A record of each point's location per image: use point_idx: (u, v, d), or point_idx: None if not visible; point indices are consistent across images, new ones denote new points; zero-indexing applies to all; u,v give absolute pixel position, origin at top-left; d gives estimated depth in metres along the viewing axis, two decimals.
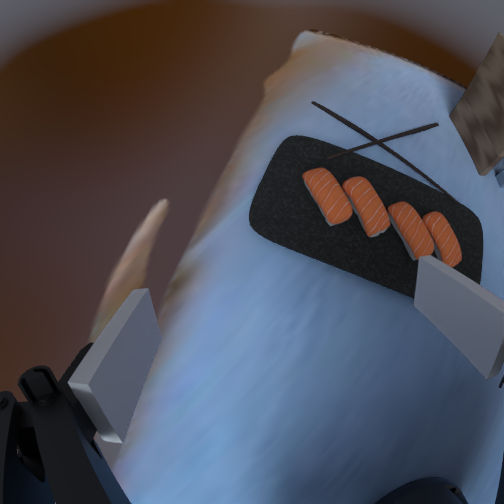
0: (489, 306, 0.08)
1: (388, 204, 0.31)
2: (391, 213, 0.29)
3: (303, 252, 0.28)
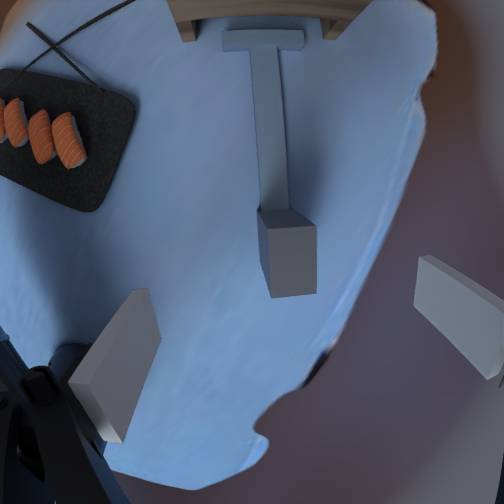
0: (489, 306, 0.08)
1: (40, 111, 0.26)
2: None
3: None
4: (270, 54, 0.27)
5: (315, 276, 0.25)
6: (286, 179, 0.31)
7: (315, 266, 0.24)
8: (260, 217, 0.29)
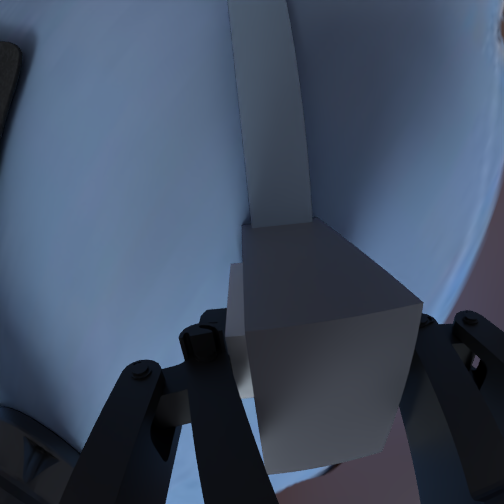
0: None
1: None
2: None
3: None
4: None
5: (389, 426, 0.07)
6: (305, 154, 0.13)
7: (395, 408, 0.07)
8: (242, 249, 0.11)
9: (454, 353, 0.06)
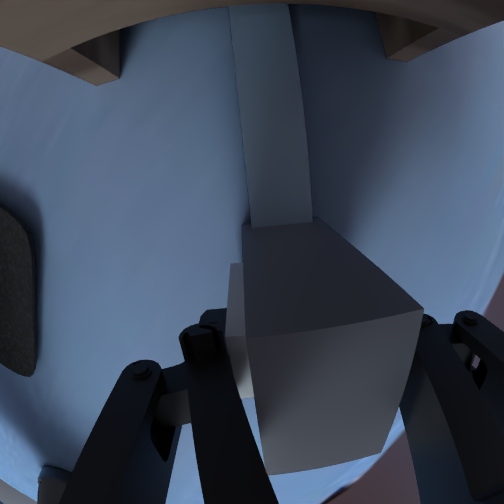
0: None
1: None
2: None
3: None
4: None
5: (388, 428, 0.07)
6: (305, 153, 0.13)
7: (394, 411, 0.07)
8: (242, 250, 0.11)
9: (454, 353, 0.06)
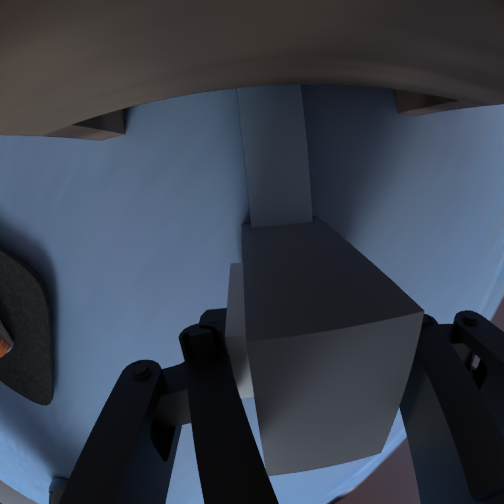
0: None
1: None
2: None
3: None
4: None
5: (388, 429, 0.07)
6: (305, 153, 0.13)
7: (394, 412, 0.07)
8: (242, 251, 0.11)
9: (454, 353, 0.06)
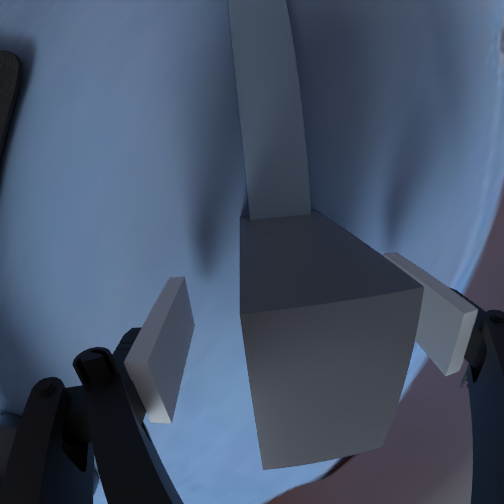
0: (445, 302, 0.09)
1: None
2: None
3: None
4: None
5: (389, 419, 0.07)
6: (303, 146, 0.13)
7: (396, 400, 0.07)
8: (240, 239, 0.11)
9: None
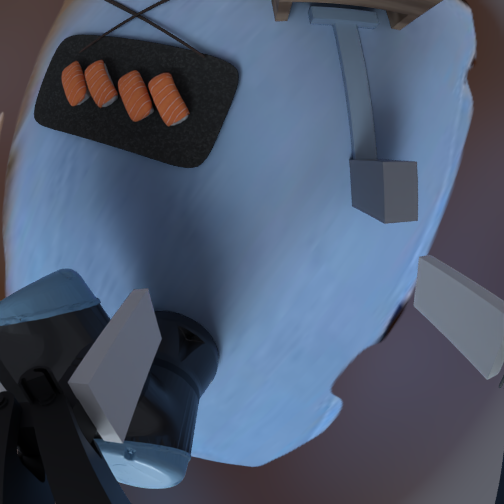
0: (489, 306, 0.08)
1: (128, 73, 0.30)
2: (118, 85, 0.29)
3: (59, 130, 0.31)
4: (351, 29, 0.27)
5: (417, 205, 0.26)
6: (373, 133, 0.32)
7: (417, 196, 0.25)
8: (361, 160, 0.30)
9: None
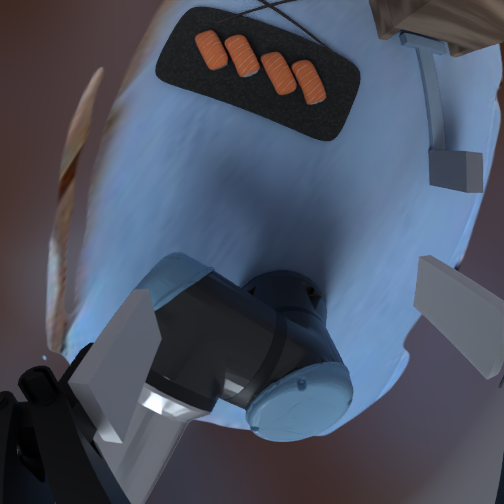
0: (489, 306, 0.08)
1: (266, 53, 0.35)
2: (262, 60, 0.34)
3: (190, 89, 0.36)
4: (429, 54, 0.34)
5: (482, 182, 0.32)
6: (444, 132, 0.38)
7: (482, 176, 0.32)
8: (443, 150, 0.36)
9: None
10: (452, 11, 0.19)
